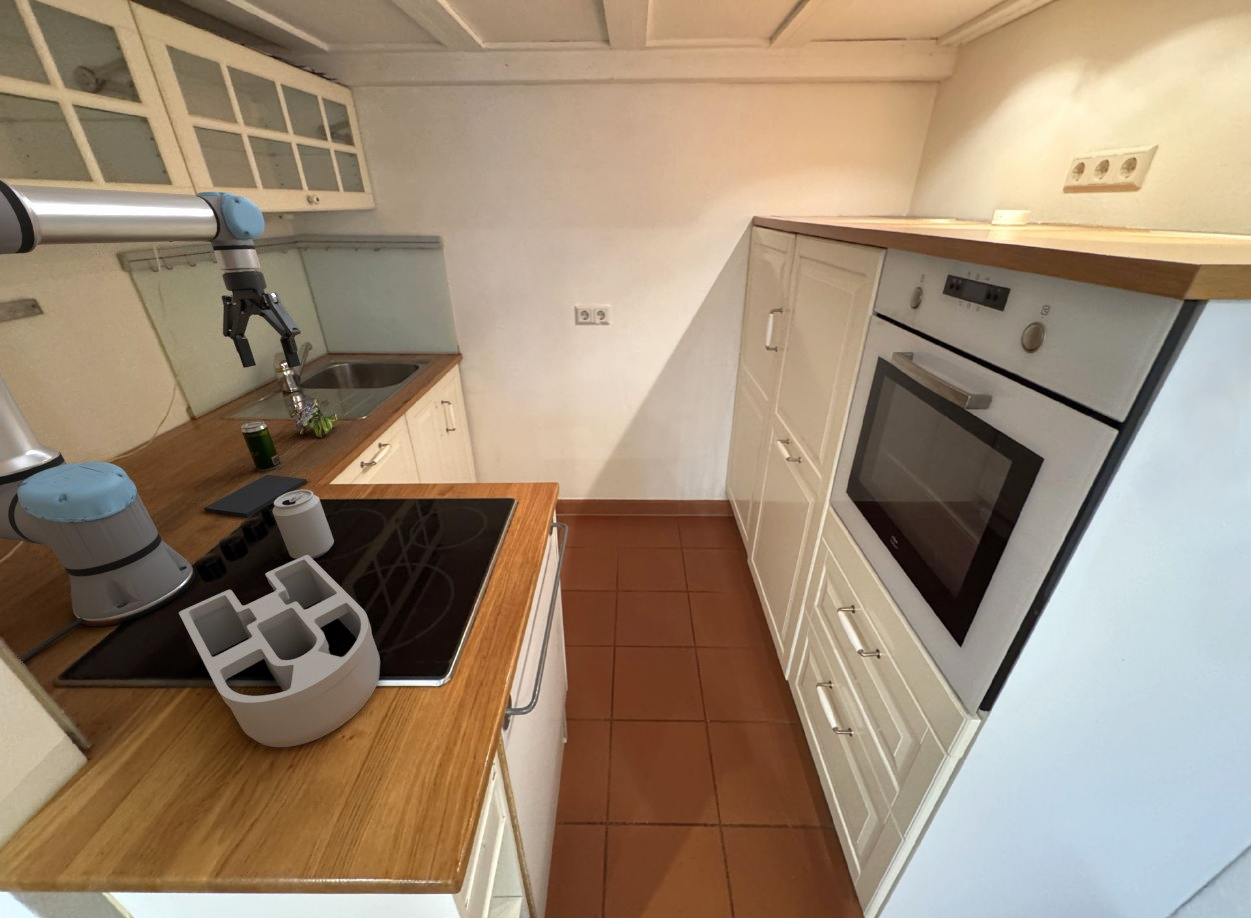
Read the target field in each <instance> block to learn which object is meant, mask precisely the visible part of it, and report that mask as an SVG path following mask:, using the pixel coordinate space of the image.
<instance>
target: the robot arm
mask: <svg viewBox="0 0 1251 918" xmlns="http://www.w3.org/2000/svg"><path fill="white" fill-rule="evenodd" d="M265 224H266V223H265V218H264V215H263V212H262V211H261V209H260V208H259V207H258V205H257V204H256V203H255V202H253V201H252V200H250V199H249V198H248V197H245V196H242V195H236V194H235V193H232V192H227V191H201V192H198V193H197V194H195V195H194V194H186V193H167V192H153V191H152V192H150V191H130V190H116V189H115V190H113V189H99V188H98V189H97V188H82V187H81V188H80V187H79V188H78V187H63V186H62V187H61V186H47V185H46V186H45V185H44V186H43V185H27V184H12V183H11V184H10V183H8V182H7V181H6V180H4V179H3V178H1V177H0V255H16V254H29V253H31V252H33V251H34V250H35V249H36V248H37V246H51V245H52V246H53V245H55V246H56V245H88V244H91V245H92V244H126V243H127V244H129V243H130V244H131V243H163V242H165V243H166V242H168V243H173V242H184V243H185V242H187V243H188V242H189V243H190V242H192V243H193V242H194V243H195V242H206V243H210V244H211V247H212V250H213V253H214V256H215V259H216V263H217V266H218V269H219V271H223V273H222V274H221V278H222V280H223V283H224V286H225V289H226V290H227V291H228V292H231V293H232V294H226V295H224V294H223V295H221V301H222V306H223V310H222V311H223V314H222V335H223V337H225V338H227V337H228V338H230V339H231V340H232V341H233V344H234V347H235V350H236V352H237V354H238V356H239V359H240V362H241V365H242V368H244V369H246V368H251V367H255V366H257V363H256V361H255V357H254V354H253V351H252V348H251V345H250V342H249V339H248V338H247V336H246V330H247V327H248V324H249V321H250V317H251V316H259V317H261V318H262V319H264V321H266V322H267V323H268V324H269V325H270V326H271V328H272V329H274V330H275V331H276V333H277V334H278V335H280V339H279V341H280V345H281V348H282V350H283V355H284V356H285V361H286V365H287V366H288V368H289V369H292V368H297V367H300V366H301V361H300V358H299V354H298V351H299V349H298V346H297V341H296V339H295V337H296V336H298V335H301V332H302V331H301V329H300V327H298V324H296V321H294V319H293V317H291V315H290V313H289V312H288V310H287V309H286V307H285V306H284V304H283V303H282V301H281V298H280V296H279V293H278V292H270V293H269V292H267V293H266V292H265V289H267V288H268V286H267V282H266V280H265V275H264V273H263V272H262V271H259V270H260V269H261V268H262V267H261V262H260V259H259V257H258V253H257V249H256V246H255V244H254V240H255V239H256V240H257V239H258V238H260V237H261V236H262V235H263V234H264V232H265V229H266V228H265V227H266V225H265ZM0 539H4V540H11V541H19V542H25V543H32V544H38V545H43V546H48V547H49V548H50V549H51V550H52V552H53V553H54V555H55V557H56V558H57V560H58V561H59V562H60V564H61V566H62V567H63V569H64V570H65V571H66V573H67V575H68V576H69V582H70V583H69V584H70V595H71V607H72V612H73V614H74V615H75V617H76V618H77V619H76V620H75V621H73V622H72V623H70V624H68V625H67V626H66V627H64V628H62V629H61V630H60V631H58V632H56V633H55V634H53V635H52V636H50V637H49V638H47V639H46V640H44V641H42V642H41V643H40V644H39V645H37V646H35V647H34V648H33V649H31V650H30V651H28V652H27V653H25V654H24V655H23V656H21V657H19V658H18V659H21V661H23V663H25V662H26V661H28V660H29V659H30V658H32V657H33V656H35V655H37V654H38V653H40V652H41V651H43V650H44V649H45V648H47V647H49V645H51V644H52V643H54V642H55V641H57V640H59V639H60V638H62V637H63V636H64V635H66V634H67V633H69V632H70V631H72V630H74V629H75V628H76V627H78V626H79V625H81V624H82V625H85V626H89V627H105V626H111V625H112V626H113V625H118V624H122V623H125V622H128V621H129V622H130V621H133V620H135V619H139V618H141V617H143V616H145V615H148V614H150V613H153V612H154V611H156V610H159V609H160V608H162V607H164V606H166V605H168V604H169V603H171V602H172V601H174V600H176V599H177V598H179V596H181V595H182V594H183V593H184V592H186V591H187V590H188V589H189V588H190V587H191V585H192V584H193V582H194V581H195V579H196V572H195V570H194V568H193V566H192V564H191V563H190V562H189V561H188V560H187V559H186V558H185V557H183V556H182V555H181V554H180V553H178V552H177V550H174V548H172V547H171V546H170V545H169V544H167V543H166V542H165V541H164V540H163V538H162V537H161V535H160V532H159V531H158V529H157V526H156V524H155V523H154V522H153V519H152V517H151V516H150V513H149V512H148V510H147V508H146V506H145V504H144V502H143V500H142V498H141V496H140V495H139V492H138V488H137V486H136V484H135V482H134V481H133V480H132V479H131V478H130V477H129V475H128V474H127V472H126V471H125V470H124V469H123V468H121V467H120V466H119V465H116V464H114V463H110V462H104V461H85V462H83V463H80V462H73V463H67V461H66V459H65V458H64V456H63V454H62V453H61V451H60V449H59V448H56V447H52V446H49V445H46V444H43V443H41V442H40V441H39V439H38V437H37V435H36V434H35V431H34V430H33V428H32V427H31V424H30V423H29V422H28V419H27V418H26V416H25V414H24V413H23V411H22V409H21V407H20V406H19V404H18V402H17V400H16V398H15V396H14V395H13V393H12V392H11V390H10V388H9V386H8V385H7V383H6V381H5V380H4V378H3V376H2V374H1V373H0Z"/></svg>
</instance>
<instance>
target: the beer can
mask: <svg viewBox="0 0 1251 918" xmlns="http://www.w3.org/2000/svg"><path fill="white" fill-rule="evenodd" d="M240 429H241V430H240V431H241V434H242V435H243V436H242V437H243V439H244V442H245V444H246V447H247V449H248V451H249V453H250V456H251V459H252V462H253V464H254V467H255V469H256V470H258V471H259V472H262V473H263V472H269V471H273V470H276V469H277V468H279V467H280V466H281V460H280V457H279V454H278V452H277V450H276V446H275V444H274V441H273V439H272V436H271V433H270V430H269V428H268V425H267V424H266V423H265V421H264V420H254V421H250V422H246V423H244V424H242V425H241V426H240Z"/></svg>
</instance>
